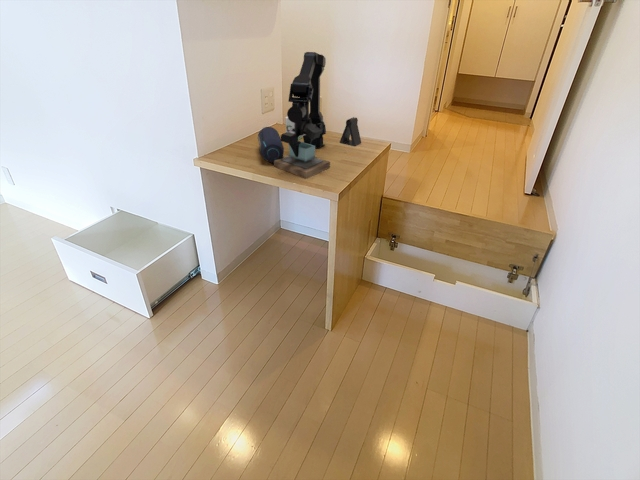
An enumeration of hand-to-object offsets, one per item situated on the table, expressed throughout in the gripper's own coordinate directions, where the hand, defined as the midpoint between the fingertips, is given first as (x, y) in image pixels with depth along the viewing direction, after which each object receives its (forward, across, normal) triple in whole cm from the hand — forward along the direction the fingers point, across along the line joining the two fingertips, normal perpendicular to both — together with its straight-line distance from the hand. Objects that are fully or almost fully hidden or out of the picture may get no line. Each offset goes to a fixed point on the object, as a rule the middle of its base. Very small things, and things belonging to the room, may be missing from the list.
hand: (302, 154), depth 146 cm
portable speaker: (+5, +1, +19) cm, 20 cm away
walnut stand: (+6, 0, 0) cm, 6 cm away
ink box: (+6, +24, +27) cm, 37 cm away
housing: (+1, 0, 0) cm, 1 cm away
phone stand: (+6, +39, +3) cm, 39 cm away
